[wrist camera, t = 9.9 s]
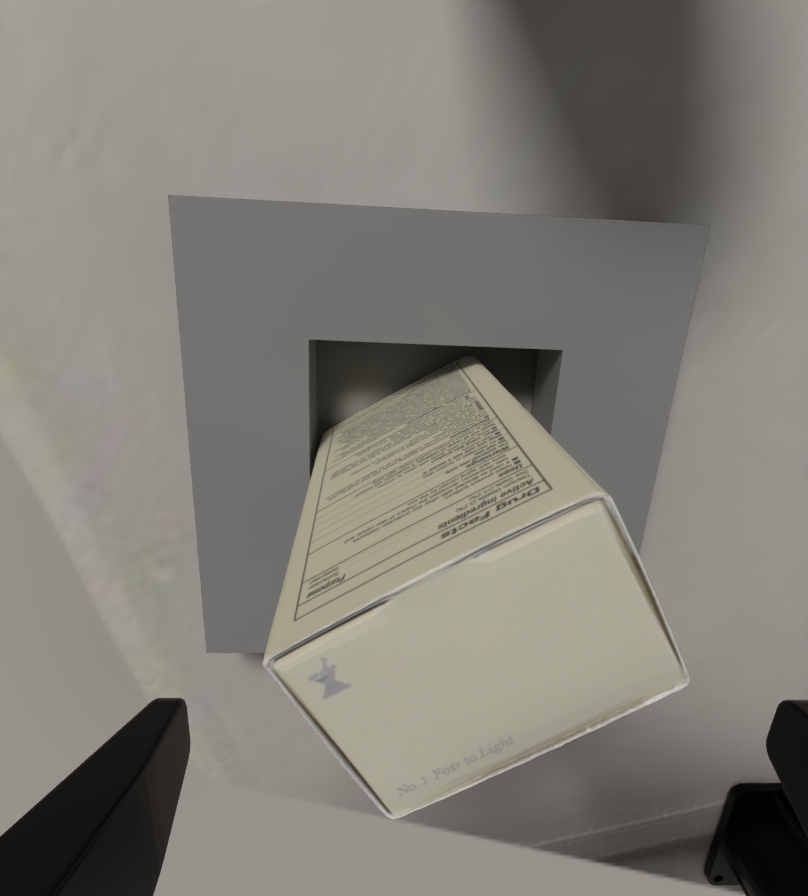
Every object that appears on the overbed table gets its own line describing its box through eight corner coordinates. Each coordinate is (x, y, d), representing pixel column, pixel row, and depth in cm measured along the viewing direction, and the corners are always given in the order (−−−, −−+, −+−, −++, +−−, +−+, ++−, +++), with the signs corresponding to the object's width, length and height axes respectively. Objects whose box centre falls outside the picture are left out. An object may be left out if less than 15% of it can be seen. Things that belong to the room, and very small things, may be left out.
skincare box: (377, 523, 22) (380, 836, 11) (317, 427, 21) (243, 668, 9) (528, 448, 21) (705, 697, 10) (475, 341, 20) (611, 488, 8)
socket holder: (593, 614, 24) (616, 656, 22) (223, 609, 23) (206, 652, 21) (668, 226, 19) (710, 224, 16) (195, 200, 18) (168, 195, 15)
